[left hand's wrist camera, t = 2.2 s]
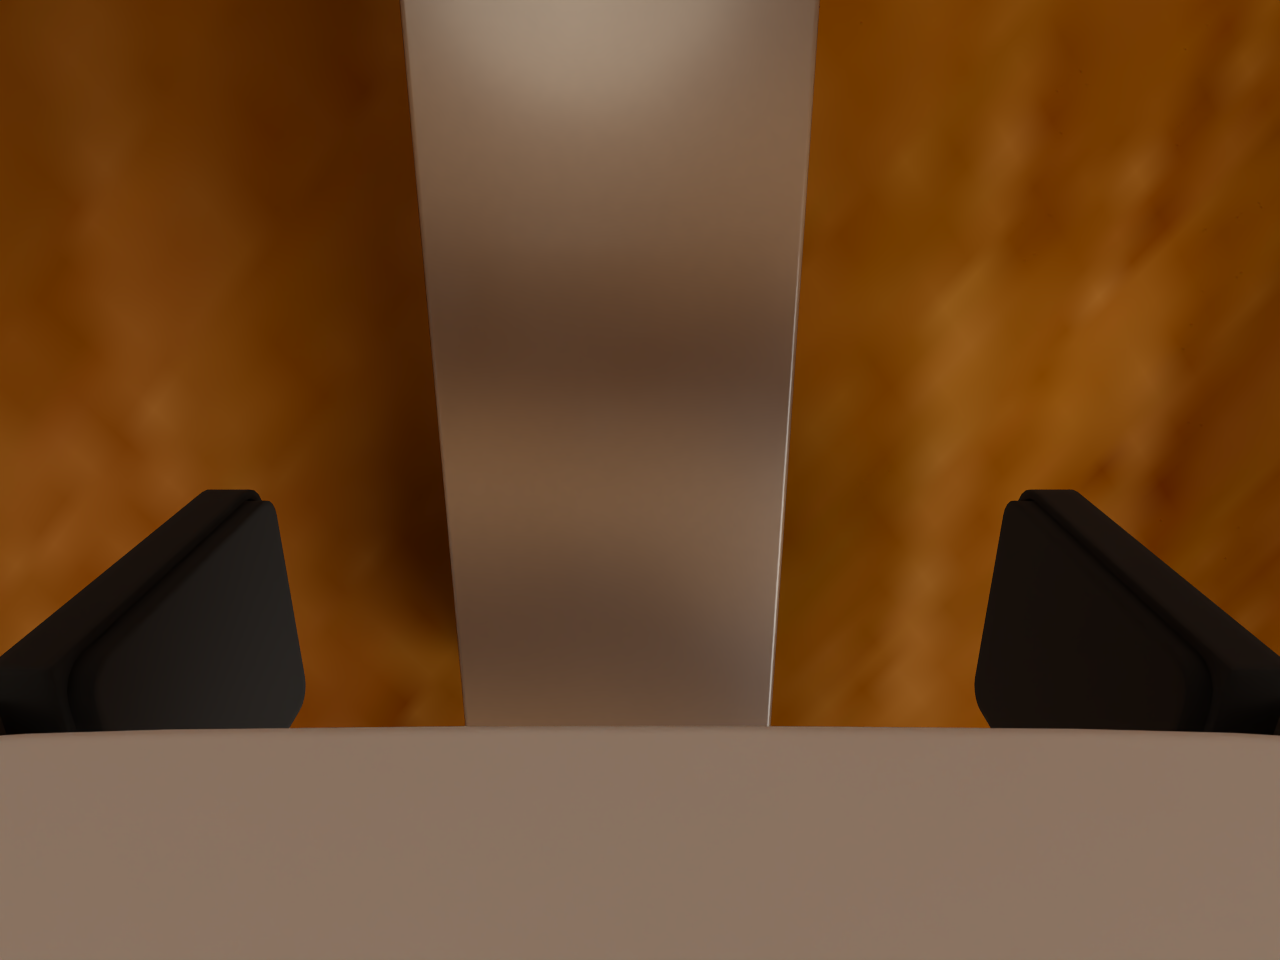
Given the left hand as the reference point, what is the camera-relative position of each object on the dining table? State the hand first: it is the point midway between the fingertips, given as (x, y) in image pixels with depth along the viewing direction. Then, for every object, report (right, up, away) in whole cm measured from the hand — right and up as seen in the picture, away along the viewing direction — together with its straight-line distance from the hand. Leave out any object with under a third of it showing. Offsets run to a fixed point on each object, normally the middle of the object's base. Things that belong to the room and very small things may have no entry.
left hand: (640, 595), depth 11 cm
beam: (0, +23, +2) cm, 23 cm away
